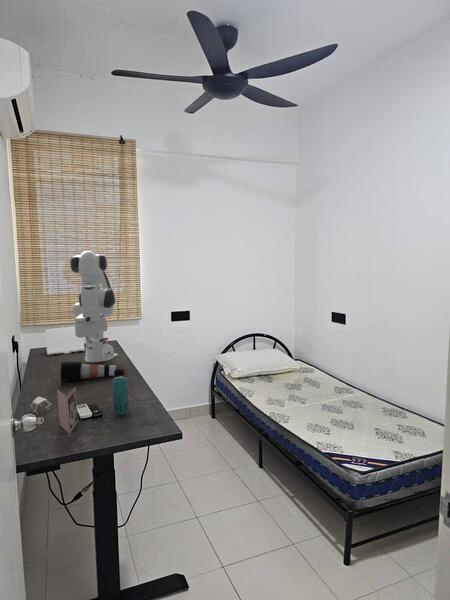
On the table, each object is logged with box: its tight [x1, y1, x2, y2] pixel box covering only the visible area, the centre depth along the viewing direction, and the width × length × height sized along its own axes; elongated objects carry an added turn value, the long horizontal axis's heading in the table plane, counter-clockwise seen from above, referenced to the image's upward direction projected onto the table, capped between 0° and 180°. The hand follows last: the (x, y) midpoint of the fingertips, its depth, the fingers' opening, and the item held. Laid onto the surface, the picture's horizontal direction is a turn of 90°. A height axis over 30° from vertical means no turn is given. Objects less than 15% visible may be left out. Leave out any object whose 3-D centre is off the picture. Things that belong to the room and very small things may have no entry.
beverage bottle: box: [111, 368, 130, 416], centre depth 170 cm, size 6×7×20 cm
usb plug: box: [84, 338, 103, 348], centre depth 210 cm, size 10×4×4 cm, turn 66°
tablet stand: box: [45, 326, 86, 356], centre depth 291 cm, size 18×25×17 cm
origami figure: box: [30, 395, 52, 415], centre depth 181 cm, size 12×8×5 cm
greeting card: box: [56, 386, 79, 434], centre depth 160 cm, size 11×7×15 cm, turn 5°
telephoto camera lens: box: [60, 361, 126, 382], centre depth 225 cm, size 10×34×10 cm, turn 105°
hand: (93, 342), depth 210 cm, fingers closed on usb plug, 4 cm apart
